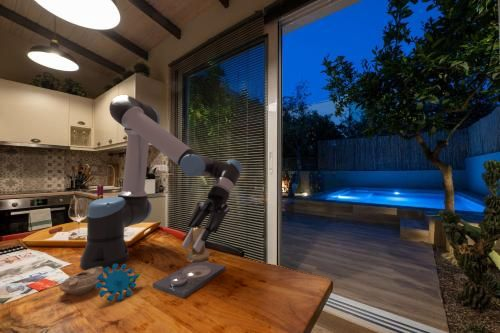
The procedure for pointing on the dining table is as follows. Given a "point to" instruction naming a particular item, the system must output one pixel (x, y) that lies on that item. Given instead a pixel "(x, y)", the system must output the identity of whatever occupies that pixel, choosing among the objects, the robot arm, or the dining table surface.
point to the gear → (117, 282)
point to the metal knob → (203, 253)
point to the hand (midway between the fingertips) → (190, 248)
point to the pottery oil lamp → (82, 281)
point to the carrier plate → (189, 278)
